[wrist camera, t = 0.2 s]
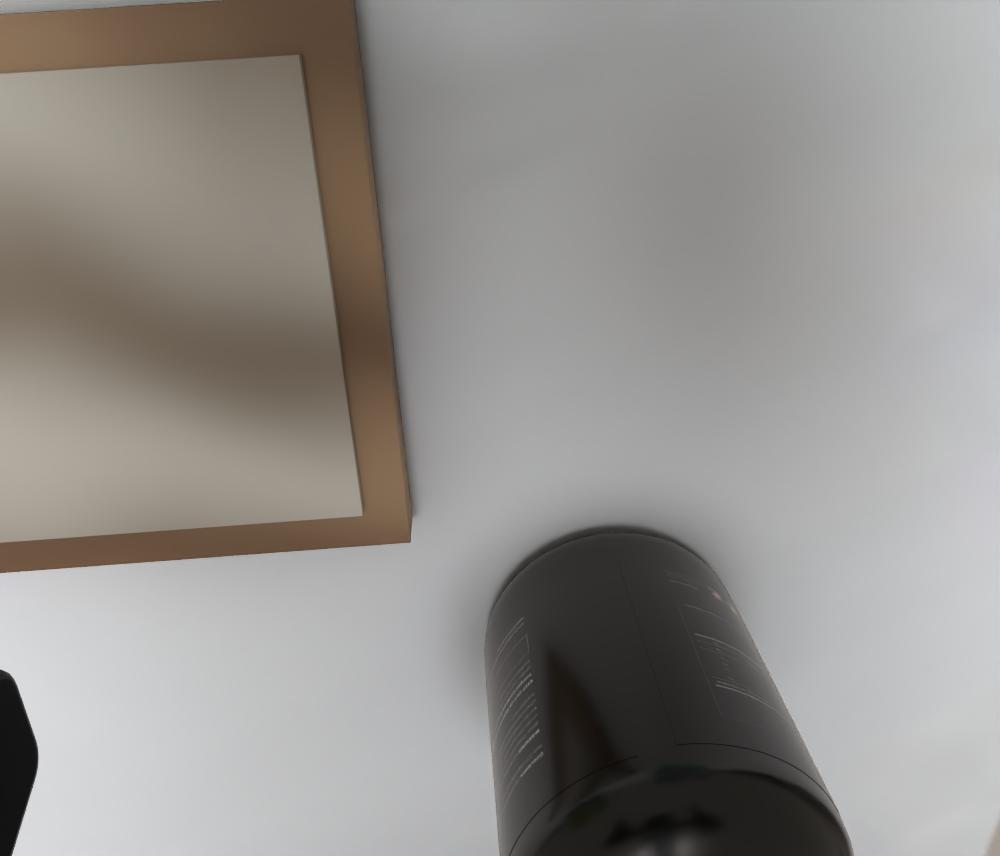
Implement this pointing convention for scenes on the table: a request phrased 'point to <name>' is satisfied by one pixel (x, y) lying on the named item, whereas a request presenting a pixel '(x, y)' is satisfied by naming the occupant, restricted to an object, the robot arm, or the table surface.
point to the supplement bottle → (642, 715)
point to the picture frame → (191, 288)
